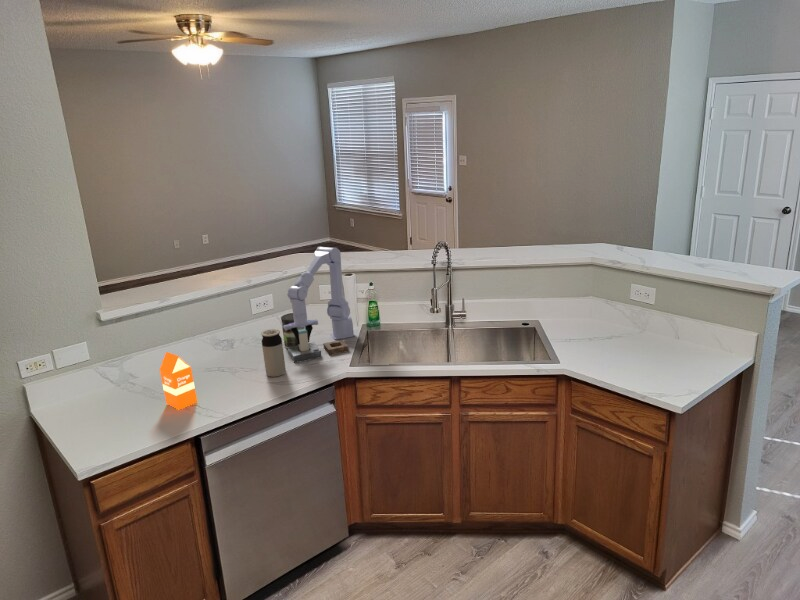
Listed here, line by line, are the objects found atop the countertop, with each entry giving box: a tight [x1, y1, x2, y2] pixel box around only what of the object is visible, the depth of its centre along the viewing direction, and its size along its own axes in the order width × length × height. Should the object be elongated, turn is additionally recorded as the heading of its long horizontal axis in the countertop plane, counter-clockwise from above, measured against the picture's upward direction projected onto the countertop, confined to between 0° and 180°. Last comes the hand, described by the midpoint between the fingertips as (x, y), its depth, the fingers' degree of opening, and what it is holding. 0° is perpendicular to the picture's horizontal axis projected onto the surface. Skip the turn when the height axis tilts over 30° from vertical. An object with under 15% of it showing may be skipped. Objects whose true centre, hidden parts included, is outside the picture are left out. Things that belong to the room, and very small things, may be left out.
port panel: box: [287, 342, 322, 364], centre depth 252 cm, size 12×12×3 cm
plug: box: [298, 329, 309, 352], centre depth 250 cm, size 4×4×9 cm
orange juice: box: [159, 351, 198, 411], centre depth 211 cm, size 8×9×20 cm
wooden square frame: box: [322, 339, 350, 356], centre depth 256 cm, size 9×9×2 cm
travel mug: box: [260, 328, 287, 378], centre depth 233 cm, size 8×8×18 cm
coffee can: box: [280, 312, 305, 349], centre depth 263 cm, size 10×10×14 cm
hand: (303, 342), depth 250 cm, fingers closed on plug, 4 cm apart
